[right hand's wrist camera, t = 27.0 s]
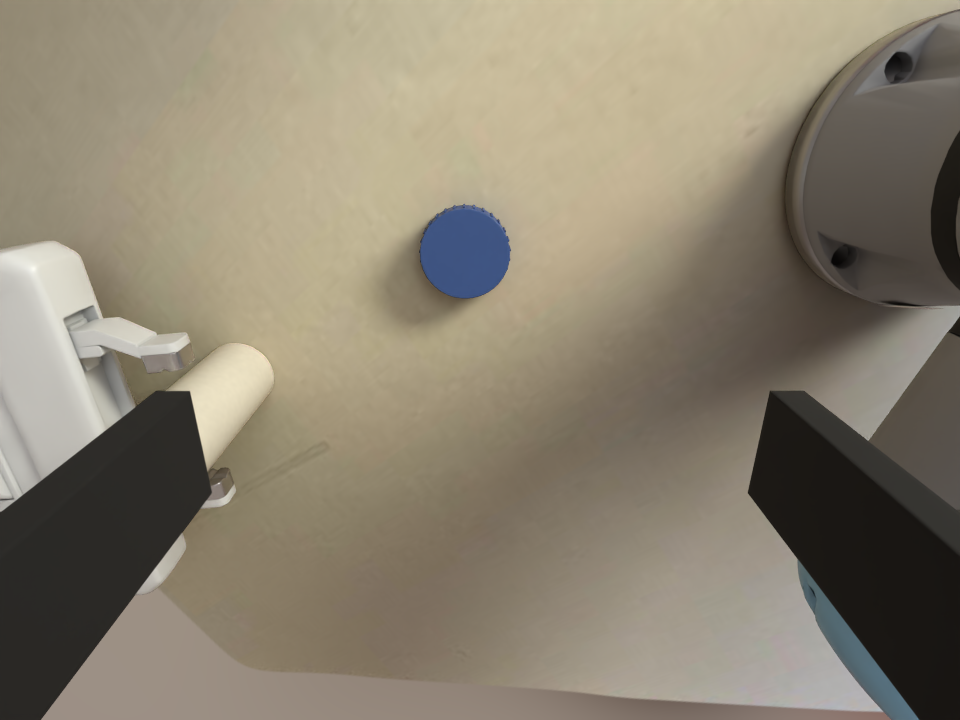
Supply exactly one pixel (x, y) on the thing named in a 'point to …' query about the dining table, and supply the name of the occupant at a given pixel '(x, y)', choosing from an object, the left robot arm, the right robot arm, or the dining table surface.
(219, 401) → the white cylindrical bottle
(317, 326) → the dining table surface
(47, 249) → the left robot arm
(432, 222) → the lid
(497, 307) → the dining table surface
